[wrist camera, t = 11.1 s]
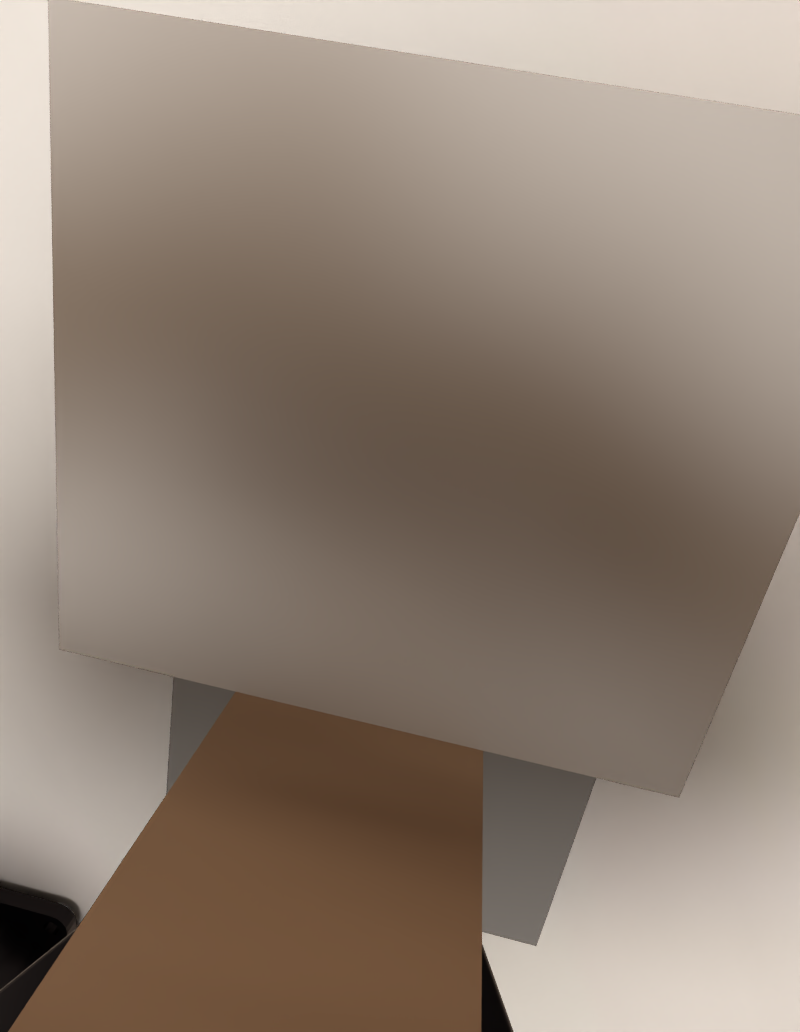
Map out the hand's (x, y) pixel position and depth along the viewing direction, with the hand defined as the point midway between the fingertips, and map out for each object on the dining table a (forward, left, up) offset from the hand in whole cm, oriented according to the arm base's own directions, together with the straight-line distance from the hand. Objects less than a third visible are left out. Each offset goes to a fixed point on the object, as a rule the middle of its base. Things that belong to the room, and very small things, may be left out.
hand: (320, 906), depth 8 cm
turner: (0, +1, -1) cm, 2 cm away
